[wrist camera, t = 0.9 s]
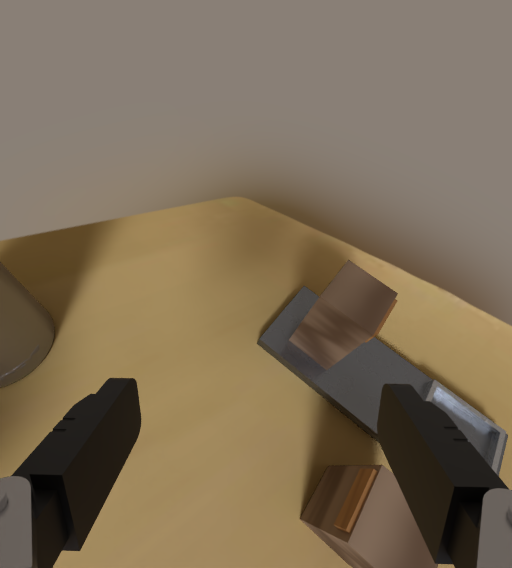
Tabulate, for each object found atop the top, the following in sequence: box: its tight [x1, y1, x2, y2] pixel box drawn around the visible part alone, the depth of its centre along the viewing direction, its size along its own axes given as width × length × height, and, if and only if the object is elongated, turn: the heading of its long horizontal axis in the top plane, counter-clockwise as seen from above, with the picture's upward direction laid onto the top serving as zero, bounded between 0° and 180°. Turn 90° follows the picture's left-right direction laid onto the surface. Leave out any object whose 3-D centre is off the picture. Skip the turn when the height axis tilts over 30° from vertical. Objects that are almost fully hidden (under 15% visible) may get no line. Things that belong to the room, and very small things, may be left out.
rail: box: [257, 286, 508, 476], centre depth 32 cm, size 26×9×2 cm, turn 52°
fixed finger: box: [289, 260, 398, 370], centre depth 29 cm, size 5×5×10 cm
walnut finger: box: [300, 465, 438, 568], centre depth 23 cm, size 5×5×10 cm
